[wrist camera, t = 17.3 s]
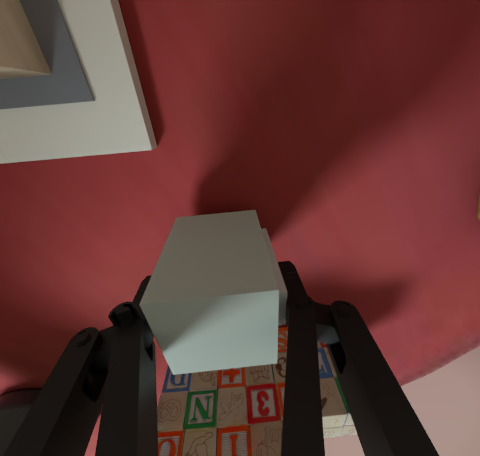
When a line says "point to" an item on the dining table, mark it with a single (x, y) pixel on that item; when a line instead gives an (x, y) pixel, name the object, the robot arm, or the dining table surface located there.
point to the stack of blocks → (240, 408)
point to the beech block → (18, 44)
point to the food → (479, 212)
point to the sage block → (214, 295)
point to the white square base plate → (75, 87)
